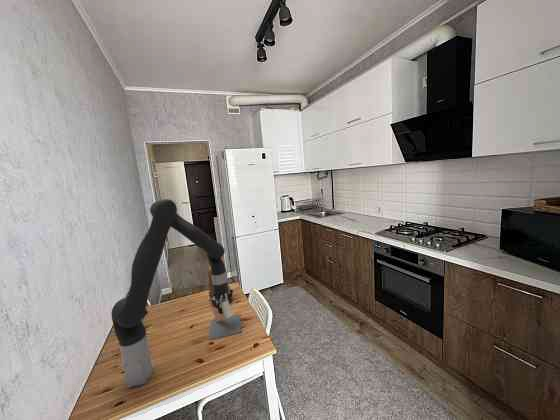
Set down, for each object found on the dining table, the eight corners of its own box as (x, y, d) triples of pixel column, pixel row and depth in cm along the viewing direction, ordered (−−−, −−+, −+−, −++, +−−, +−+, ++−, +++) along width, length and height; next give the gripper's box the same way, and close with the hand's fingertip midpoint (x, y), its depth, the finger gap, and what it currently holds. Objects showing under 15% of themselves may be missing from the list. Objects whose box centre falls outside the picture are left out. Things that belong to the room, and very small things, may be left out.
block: (215, 304, 126) (227, 299, 117) (221, 318, 125) (233, 314, 116) (211, 307, 124) (222, 302, 115) (216, 321, 123) (229, 317, 114)
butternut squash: (232, 295, 153) (228, 260, 150) (231, 305, 140) (226, 267, 137) (211, 298, 151) (206, 263, 148) (208, 309, 138) (203, 270, 135)
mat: (241, 332, 114) (241, 331, 114) (208, 340, 111) (208, 339, 111) (240, 315, 130) (239, 314, 129) (211, 321, 126) (211, 320, 126)
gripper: (211, 288, 109) (216, 321, 111) (235, 277, 119) (238, 307, 122) (203, 284, 114) (208, 316, 116) (226, 274, 124) (230, 303, 127)
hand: (223, 311), depth 119 cm, fingers closed on block, 3 cm apart
